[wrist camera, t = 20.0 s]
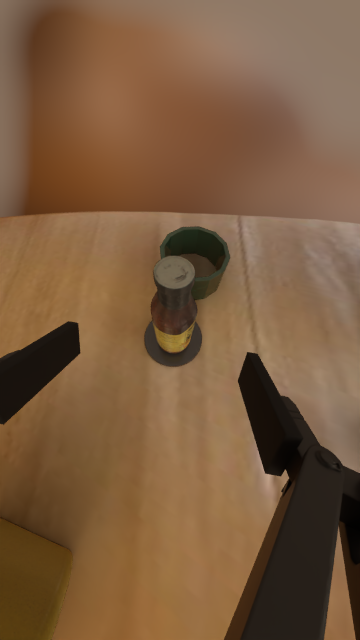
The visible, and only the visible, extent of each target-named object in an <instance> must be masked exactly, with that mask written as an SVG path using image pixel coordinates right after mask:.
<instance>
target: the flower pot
mask: <svg viewBox="0 0 360 640" xmlns="http://www.w3.org/2000/svg"><path fill="white" fill-rule="evenodd" d="M72 561H73V558H72V553H71V551H70V550H68V549H66V548H64V547H62V546H60V545H58V544H55V543H53V542H51V541H49V540H47V539H45V538H43V537H40V536H38V535H36V534H34V533H32V532H30V531H28V530H25V529H23V528H21V527H19V526H17V525H15V524H13V523H10V522H8V521H6V520H4V519H2V518H0V640H51V639H52V636H53V633H54V630H55V627H56V624H57V621H58V618H59V615H60V611H61V608H62V605H63V602H64V598H65V594H66V591H67V587H68V583H69V579H70V574H71V569H72Z"/></svg>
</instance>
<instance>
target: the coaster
mask: <svg viewBox="0 0 360 640" xmlns="http://www.w3.org/2000/svg"><path fill="white" fill-rule="evenodd" d="M201 343H202V334H201V331H200V328H199V326H198V324H197V323H196V322H195V324H194V328H193V332H192V335H191V339H190V342H189V344H188V346H187V347H186V348H185V349H184V350H182V351H181V352H179V353H169V352H166V351H164V350H163V349H162V348H161V346H160V345H159V343H158V341H157V338H156V334H155V329H154V325H153V321H151V322H150V323H149V325H148V327H147V329H146V332H145V346H146V349H147V351H148V353H149V355H150V356H151V357H152V358H153V359H154V360H155V361H156V362H158V363H160V364H162V365H164V366H168V367H178V366H182V365H185V364H187V363H189V362H190V361H191V360H193V359H194V358H195V356H196V355H197V354H198V352H199V350H200V347H201Z"/></svg>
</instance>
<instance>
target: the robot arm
mask: <svg viewBox="0 0 360 640" xmlns="http://www.w3.org/2000/svg"><path fill="white" fill-rule="evenodd" d="M79 354H80V342H79V328H78V323H75V322H69V321H68V322H67V323H65V324H63V325H62V326H60V327H58V328H57V329H55V330H53V331H52V332H50V333H48V334H47V335H45V336H43V337H42V338H40V339H38V340H37V341H35V342H33V343H32V344H30V345H28V346H27V347H25V348H23V349H22V350H17V351H15V352H12V353H9V354H7V355H5V356H3V357H2V358H0V424H3V425H4V424H5V423H6V422H7V421H8V420H9V419H10V418H11V417H12V416H13V415H15V414H16V413H17V412H18V411H19V410H20V409H21V408H22V407H23V406H24V405H25V404H26V403H27V402H28V401H30V400H31V399H32V398H33V397H34V396H35V395H36V394H37V393H38V392H39V391H40V390H41V389H42V388H43V387H45V386H46V385H47V384H48V383H49V382H50V381H51V380H52V379H53V378H54V377H55V376H56V375H57V374H59V373H60V372H61V371H62V370H63V369H64V368H65V367H66V366H67V365H68V364H69V363H70V362H71V361H72V360H74V359H75V358H76V357H77V356H78V355H79ZM238 383H239V387H240V390H241V393H242V397H243V400H244V404H245V407H246V410H247V414H248V417H249V420H250V424H251V427H252V431H253V434H254V437H255V441H256V444H257V448H258V451H259V454H260V458H261V461H262V464H263V468H264V471H265V473H266V474H271V475H276V476H281V475H282V474H283V472H284V470H285V469H286V471H287V474H288V476H289V479H288V481H287V483H286V484H285V486H284V487H283V489H282V491H281V492H283V493H282V496H281V498H280V501H279V503H278V506H277V508H276V511H275V513H274V516H273V518H272V521H271V523H270V526H269V528H268V531H267V533H266V536H265V538H264V541H263V543H262V546H261V548H260V551H259V553H258V556H257V558H256V561H255V563H254V566H253V568H252V571H251V573H250V576H249V578H248V581H247V583H246V586H245V588H244V591H243V593H242V596H241V598H240V601H239V603H238V606H237V608H236V611H235V613H234V616H233V618H232V621H231V623H230V626H229V628H228V631H227V633H226V636H225V638H224V640H324V634H325V627H326V619H327V611H328V603H329V595H330V587H331V580H332V572H333V564H334V556H335V548H336V541H337V533H338V525H339V531H340V537H341V544H342V551H343V557H344V564H345V571H346V577H347V584H348V590H349V597H350V604H351V610H352V617H353V624H354V630H355V637H356V640H360V473H358V472H356V471H354V470H351V469H349V468H347V467H345V466H343V465H342V463H341V461H340V460H339V459H338V458H337V457H336V456H335V455H334V454H333V453H332V452H330V451H329V450H328V449H326V448H324V447H322V446H320V444H319V442H318V441H317V439H316V437H315V436H314V434H313V433H312V431H311V429H310V428H309V426H308V424H307V423H306V421H305V420H304V418H303V416H302V415H301V414H300V411H299V410H298V408H297V406H296V405H295V404H294V403H293V402H292V401H291V400H290V399H289V398H288V397H285V396H280V394H279V392H278V390H277V388H276V387H275V385H274V383H273V381H272V379H271V377H270V376H269V374H268V372H267V370H266V368H265V367H264V365H263V363H262V361H261V359H260V357H259V356H258V354H256V353H250V352H247V355H246V358H245V361H244V364H243V367H242V370H241V373H240V376H239V379H238Z"/></svg>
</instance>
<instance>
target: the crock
mask: <svg viewBox="0 0 360 640" xmlns="http://www.w3.org/2000/svg"><path fill="white" fill-rule="evenodd" d="M191 253H195V254H198V255H201V256H203V257H206V258H207V259H208V260H209V261H210V262H211V263H212V264H213V265H214V266H215V267H216V272H215V273H213V274H212V275H210V276H208V277H195V282H194V285H193V287H192V289H191V295H192V297H193V299H194V300H197V299H204V298H206V297H207V296H209V295H210V294H212V293H214V292H215V291H216V290H217V288H218V285H219V283H220V281H221V278H222V276H223V274H224V271H225V269H226V267H227V264H228V262H229V259H230V255H229V251H228V247H227V243H226V242H225V241H224V240H223V239H222V238H221V237H220V236H219V235H218V234H217V233H216V232H213V231H211V230H208V229H205V228H202V227H199V226H197V227H181V228H179V229H177V230H175V231H173V232H171V233H169V234H168V235H167V236H166V238H165V239H164V241H163V243H162V244H161V246H160V254H161V259H163V258H165V257H168V256H179V255H181V254H191Z"/></svg>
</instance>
